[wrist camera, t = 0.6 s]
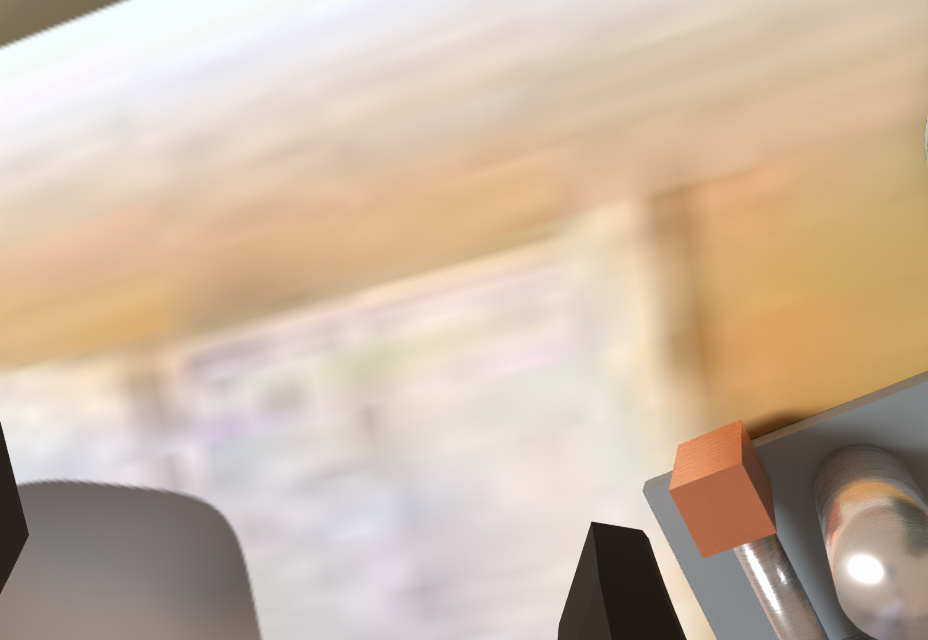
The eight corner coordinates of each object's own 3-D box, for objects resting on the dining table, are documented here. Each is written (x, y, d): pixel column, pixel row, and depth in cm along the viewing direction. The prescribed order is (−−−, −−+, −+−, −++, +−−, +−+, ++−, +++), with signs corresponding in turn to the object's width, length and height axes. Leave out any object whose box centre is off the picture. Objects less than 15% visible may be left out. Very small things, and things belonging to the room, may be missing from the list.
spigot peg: (930, 514, 27) (994, 624, 20) (837, 546, 28) (868, 660, 21) (888, 429, 27) (938, 511, 20) (795, 464, 28) (814, 553, 21)
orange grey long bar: (913, 763, 28) (943, 864, 24) (846, 778, 29) (864, 880, 25) (741, 420, 28) (741, 462, 24) (678, 445, 29) (668, 490, 25)
